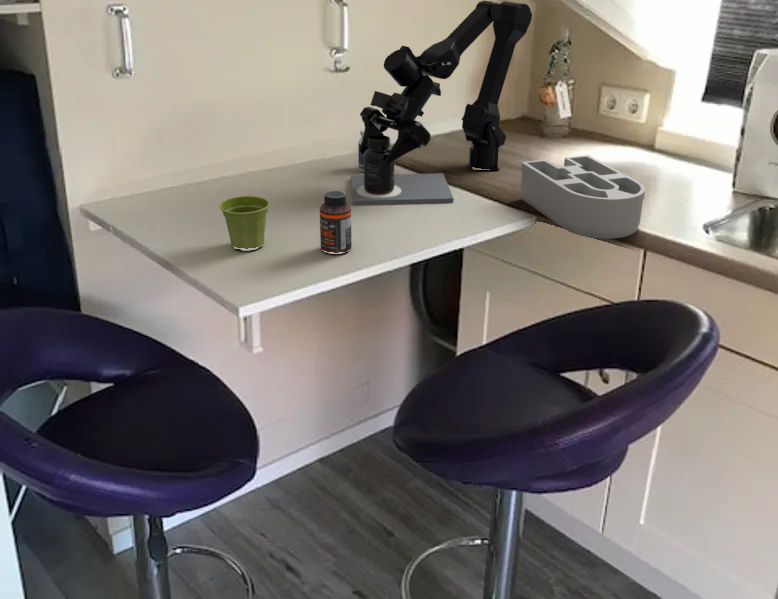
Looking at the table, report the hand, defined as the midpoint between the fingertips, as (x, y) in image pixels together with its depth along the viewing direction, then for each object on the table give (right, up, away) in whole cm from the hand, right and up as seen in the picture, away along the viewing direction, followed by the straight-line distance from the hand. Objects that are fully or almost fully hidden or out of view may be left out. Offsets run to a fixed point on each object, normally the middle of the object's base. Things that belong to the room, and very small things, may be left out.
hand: (373, 157), depth 188 cm
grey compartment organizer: (+44, -14, -6) cm, 47 cm away
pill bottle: (-1, 0, +22) cm, 22 cm away
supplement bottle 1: (-7, -22, -24) cm, 33 cm away
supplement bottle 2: (+1, -7, +4) cm, 8 cm away
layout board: (+6, -6, +8) cm, 12 cm away
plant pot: (-24, -21, -22) cm, 39 cm away
